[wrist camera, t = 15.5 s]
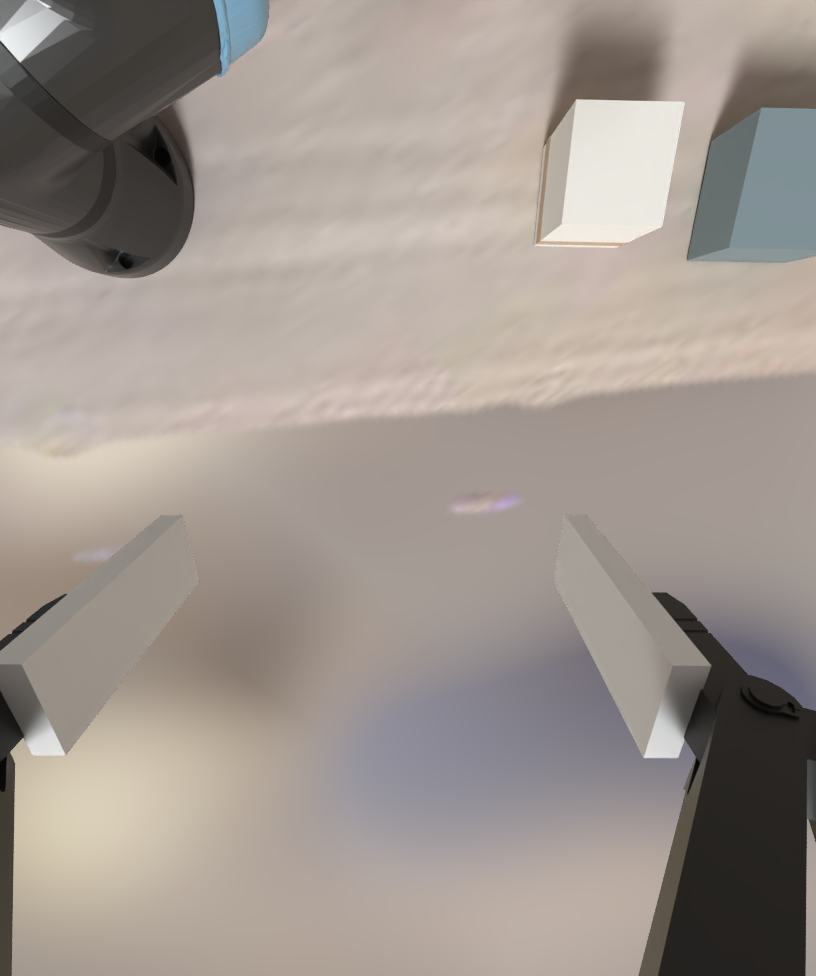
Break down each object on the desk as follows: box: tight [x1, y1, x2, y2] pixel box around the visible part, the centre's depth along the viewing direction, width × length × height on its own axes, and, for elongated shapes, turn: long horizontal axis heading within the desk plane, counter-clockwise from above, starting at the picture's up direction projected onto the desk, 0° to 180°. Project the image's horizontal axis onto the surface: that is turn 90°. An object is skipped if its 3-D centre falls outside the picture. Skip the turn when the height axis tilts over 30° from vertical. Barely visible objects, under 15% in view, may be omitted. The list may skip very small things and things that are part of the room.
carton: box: [534, 99, 685, 248], centre depth 36 cm, size 8×8×8 cm
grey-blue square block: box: [687, 107, 816, 263], centre depth 38 cm, size 10×10×6 cm
